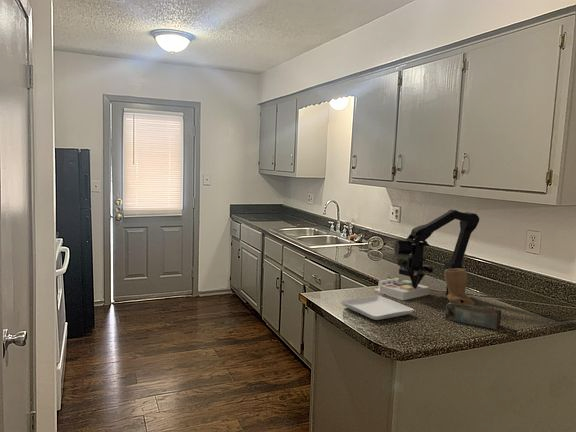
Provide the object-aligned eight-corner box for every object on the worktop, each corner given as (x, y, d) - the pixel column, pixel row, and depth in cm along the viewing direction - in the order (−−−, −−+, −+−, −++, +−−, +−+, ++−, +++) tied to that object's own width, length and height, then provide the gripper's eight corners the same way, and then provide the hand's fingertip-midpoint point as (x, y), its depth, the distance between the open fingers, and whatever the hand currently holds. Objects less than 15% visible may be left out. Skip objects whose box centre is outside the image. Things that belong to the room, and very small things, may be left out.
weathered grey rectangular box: (449, 314, 185) (450, 298, 184) (500, 325, 174) (502, 308, 174) (444, 319, 178) (445, 303, 177) (497, 331, 168) (499, 313, 167)
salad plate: (374, 324, 168) (375, 315, 167) (338, 308, 186) (339, 299, 185) (415, 317, 179) (415, 308, 179) (377, 302, 197) (378, 294, 196)
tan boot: (440, 296, 212) (443, 264, 210) (467, 299, 209) (470, 267, 208) (445, 305, 197) (448, 271, 195) (474, 308, 195) (477, 274, 193)
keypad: (429, 294, 214) (430, 285, 213) (402, 300, 201) (403, 290, 201) (400, 286, 227) (401, 277, 226) (373, 291, 214) (374, 281, 213)
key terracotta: (398, 292, 211) (398, 288, 210) (392, 293, 208) (392, 289, 208) (390, 289, 214) (390, 286, 214) (384, 290, 211) (384, 287, 211)
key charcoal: (406, 287, 214) (406, 283, 214) (400, 288, 211) (401, 284, 211) (398, 285, 218) (399, 281, 217) (393, 286, 215) (393, 282, 215)
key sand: (413, 291, 208) (413, 287, 208) (407, 292, 205) (407, 288, 205) (405, 288, 211) (405, 284, 211) (399, 289, 208) (399, 286, 208)
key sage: (414, 285, 218) (414, 281, 218) (408, 286, 215) (408, 283, 215) (406, 283, 221) (406, 279, 221) (400, 284, 219) (401, 280, 218)
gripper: (414, 250, 222) (412, 282, 224) (390, 253, 211) (387, 286, 212) (434, 254, 214) (431, 287, 215) (410, 258, 202) (407, 292, 204)
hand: (414, 288), depth 212 cm, fingers closed, pressing on key slate
